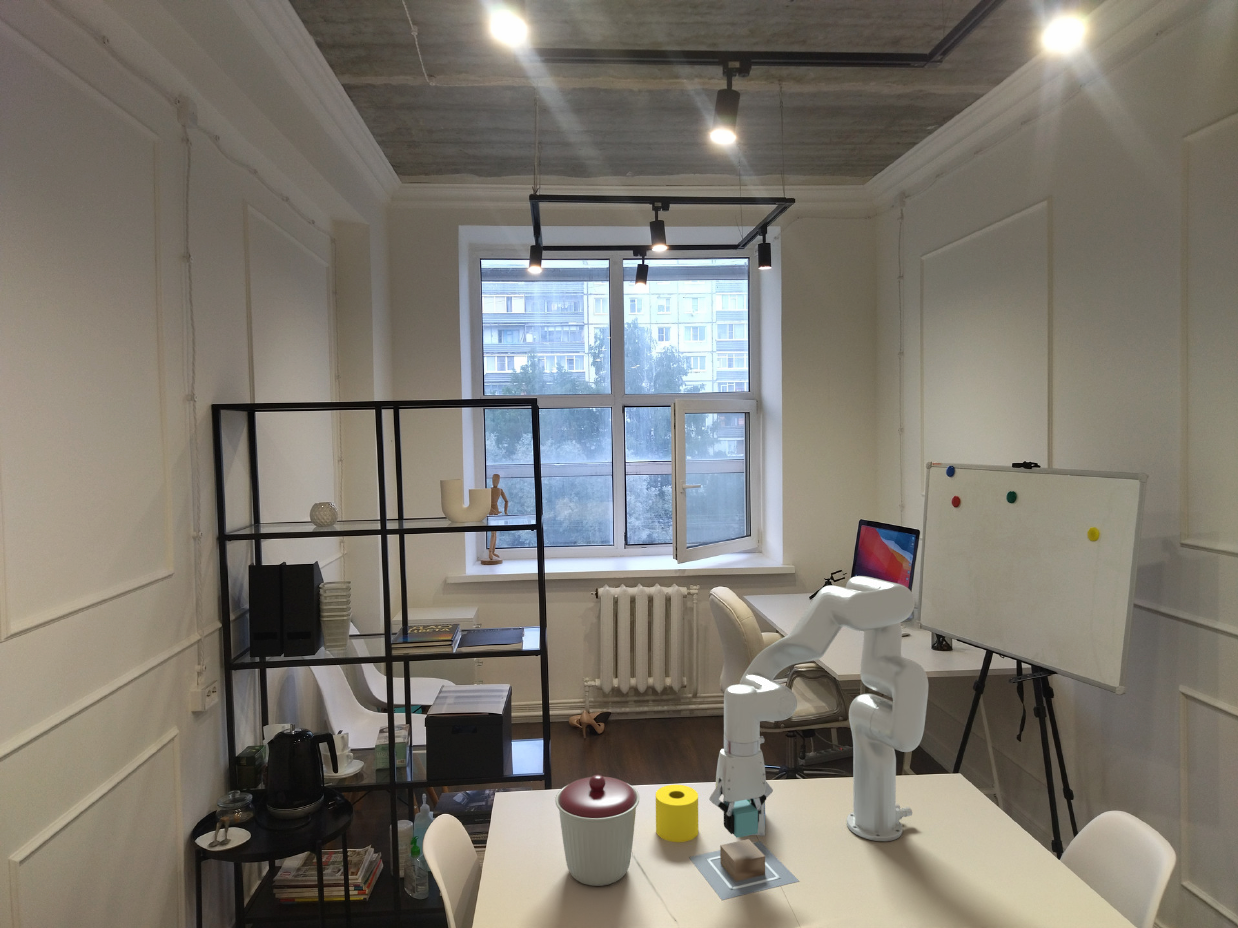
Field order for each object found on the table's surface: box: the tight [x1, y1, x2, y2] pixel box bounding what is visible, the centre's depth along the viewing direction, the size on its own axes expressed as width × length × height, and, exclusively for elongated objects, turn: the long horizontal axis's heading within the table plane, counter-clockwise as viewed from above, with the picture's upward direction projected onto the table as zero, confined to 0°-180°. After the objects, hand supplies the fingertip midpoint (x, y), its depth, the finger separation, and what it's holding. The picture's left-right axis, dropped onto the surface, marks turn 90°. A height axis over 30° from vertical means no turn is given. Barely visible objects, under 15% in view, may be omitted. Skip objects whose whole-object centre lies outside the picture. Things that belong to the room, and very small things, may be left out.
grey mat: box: [688, 841, 800, 901], centre depth 159 cm, size 18×16×1 cm
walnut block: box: [719, 838, 765, 881], centre depth 159 cm, size 7×7×4 cm
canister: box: [554, 774, 640, 887], centre depth 159 cm, size 18×18×21 cm
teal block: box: [732, 800, 758, 839], centre depth 158 cm, size 5×5×5 cm
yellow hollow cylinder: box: [655, 784, 699, 843], centre depth 174 cm, size 10×10×9 cm
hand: (741, 827), depth 158 cm, fingers closed on teal block, 5 cm apart
